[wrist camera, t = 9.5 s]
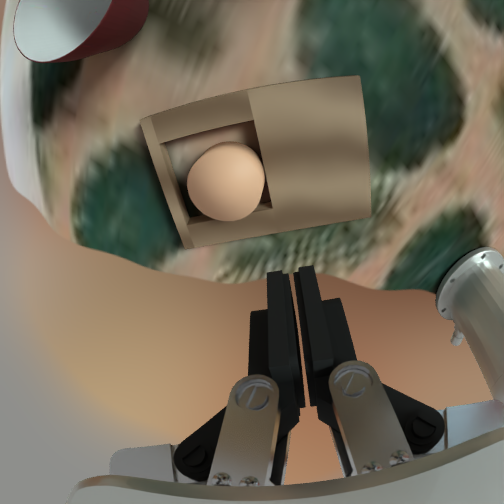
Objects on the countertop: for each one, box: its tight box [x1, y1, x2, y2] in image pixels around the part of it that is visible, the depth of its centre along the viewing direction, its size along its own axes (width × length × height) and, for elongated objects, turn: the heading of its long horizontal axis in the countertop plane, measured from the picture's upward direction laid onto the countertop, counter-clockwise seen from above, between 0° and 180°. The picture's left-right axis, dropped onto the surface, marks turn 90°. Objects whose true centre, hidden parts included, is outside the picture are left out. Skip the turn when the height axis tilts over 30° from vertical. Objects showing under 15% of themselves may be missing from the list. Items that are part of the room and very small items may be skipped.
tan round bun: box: [187, 142, 266, 221], centre depth 24 cm, size 6×6×3 cm
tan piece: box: [140, 75, 371, 249], centre depth 24 cm, size 13×18×2 cm
